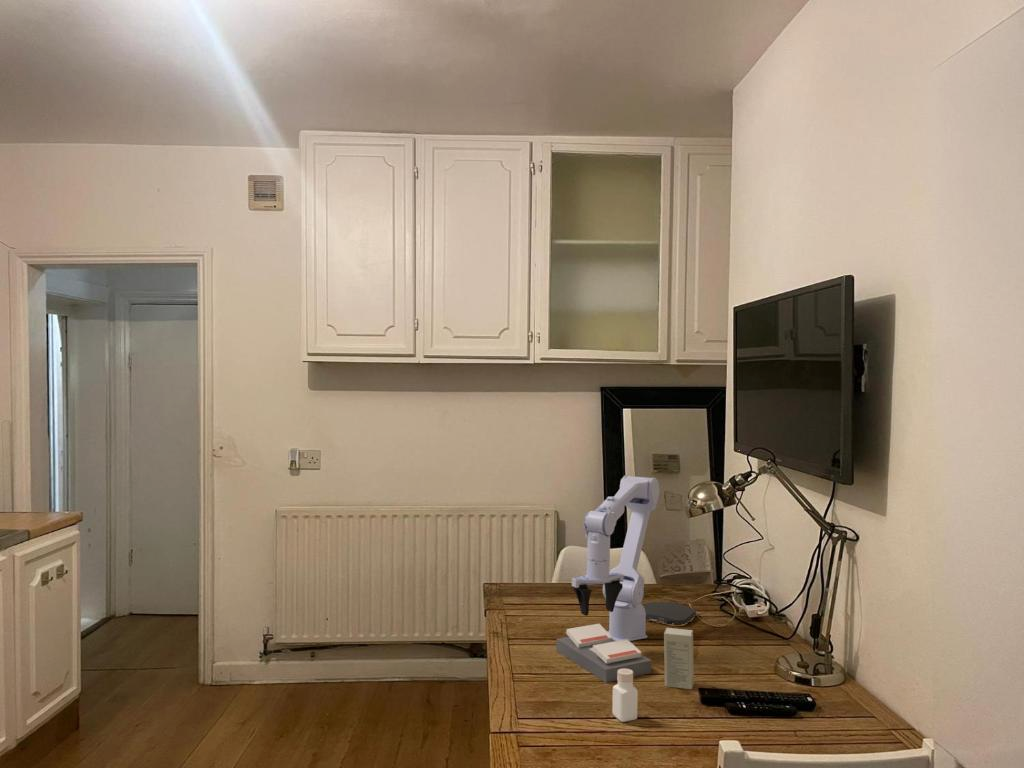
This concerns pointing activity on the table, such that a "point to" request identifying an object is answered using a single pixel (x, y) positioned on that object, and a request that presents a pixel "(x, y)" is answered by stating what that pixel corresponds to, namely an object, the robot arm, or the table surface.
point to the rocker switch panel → (601, 661)
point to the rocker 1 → (588, 635)
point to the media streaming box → (669, 612)
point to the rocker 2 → (616, 651)
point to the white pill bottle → (625, 696)
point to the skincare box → (678, 658)
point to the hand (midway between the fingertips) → (597, 612)
